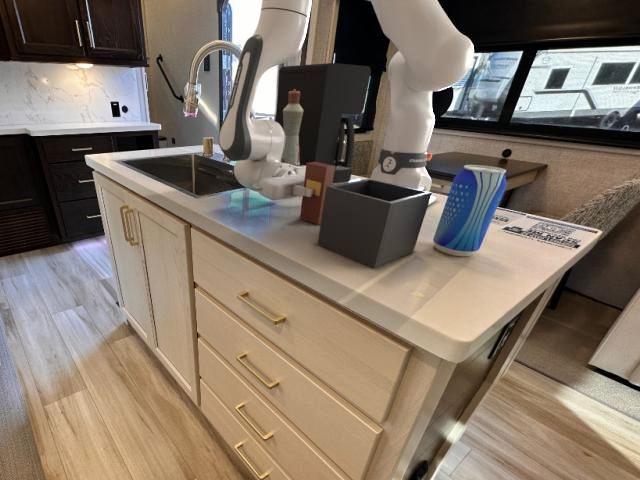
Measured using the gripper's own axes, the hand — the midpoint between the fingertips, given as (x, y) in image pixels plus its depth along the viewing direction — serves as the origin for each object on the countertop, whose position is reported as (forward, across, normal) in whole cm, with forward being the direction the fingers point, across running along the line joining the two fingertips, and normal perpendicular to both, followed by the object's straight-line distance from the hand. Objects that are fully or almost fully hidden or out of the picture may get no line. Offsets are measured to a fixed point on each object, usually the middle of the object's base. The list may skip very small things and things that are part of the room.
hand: (319, 191), depth 79 cm
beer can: (+28, +11, +7) cm, 31 cm away
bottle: (-32, +21, +8) cm, 39 cm away
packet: (-1, 0, +7) cm, 7 cm away
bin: (+17, -4, +7) cm, 19 cm away
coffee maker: (-36, +39, +8) cm, 54 cm away
